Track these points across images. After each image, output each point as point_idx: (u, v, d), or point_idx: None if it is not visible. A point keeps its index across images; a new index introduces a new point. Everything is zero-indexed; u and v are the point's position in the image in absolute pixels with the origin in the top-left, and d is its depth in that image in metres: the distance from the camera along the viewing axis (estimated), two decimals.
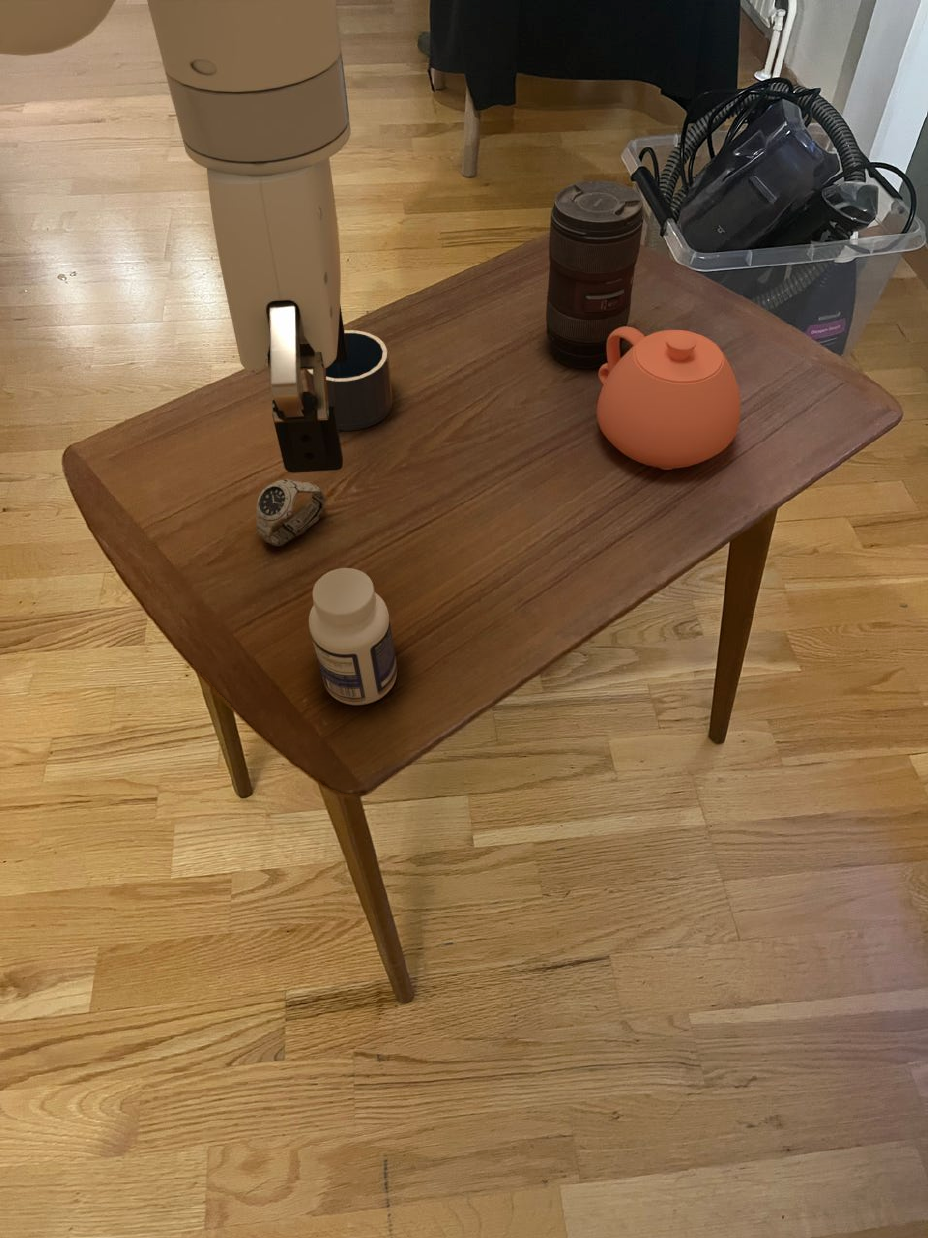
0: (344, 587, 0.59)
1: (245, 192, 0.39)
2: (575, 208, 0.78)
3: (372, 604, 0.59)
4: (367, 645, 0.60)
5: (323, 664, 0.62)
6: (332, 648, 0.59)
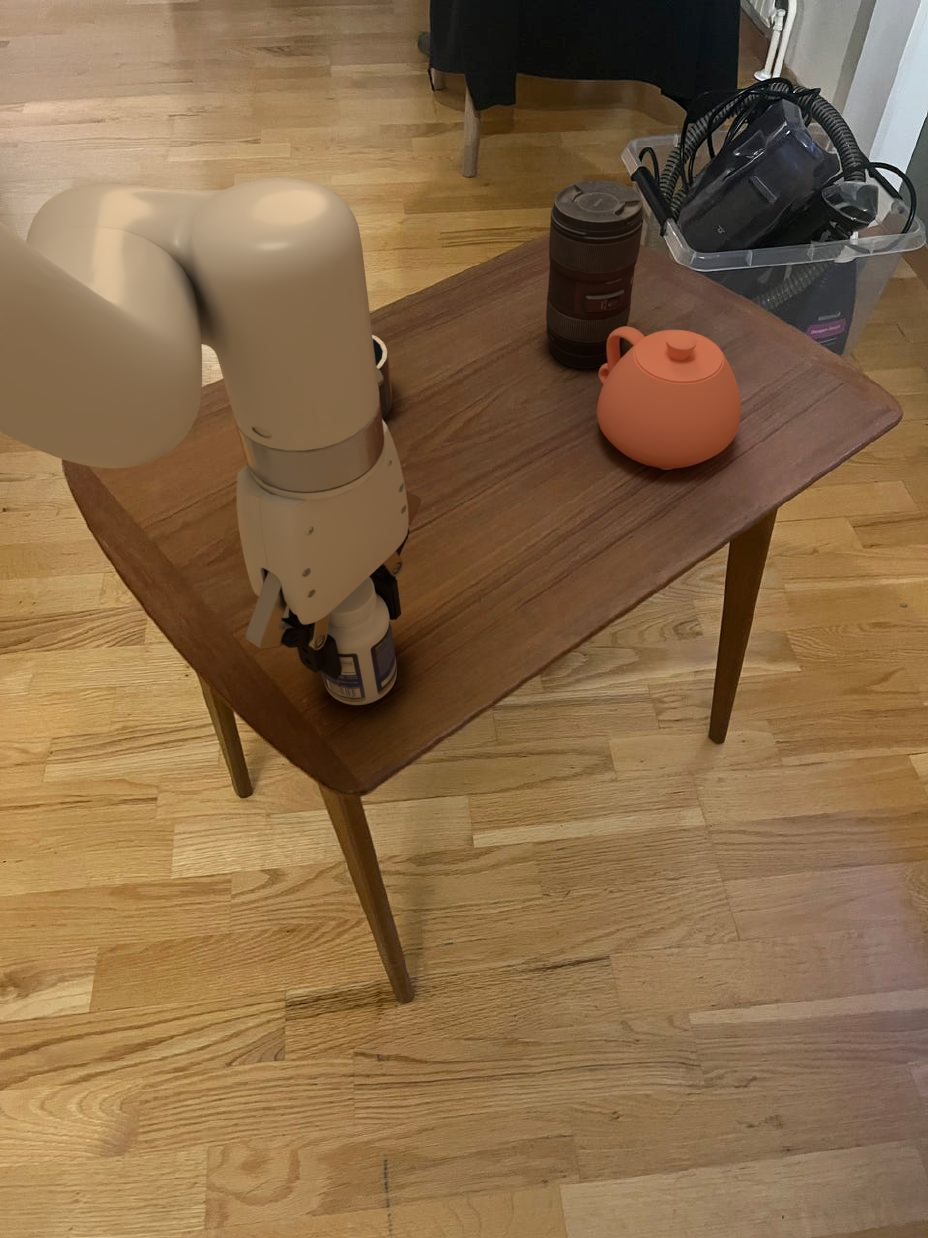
0: None
1: (249, 498, 0.48)
2: (575, 208, 0.78)
3: (372, 604, 0.59)
4: (368, 645, 0.60)
5: None
6: None
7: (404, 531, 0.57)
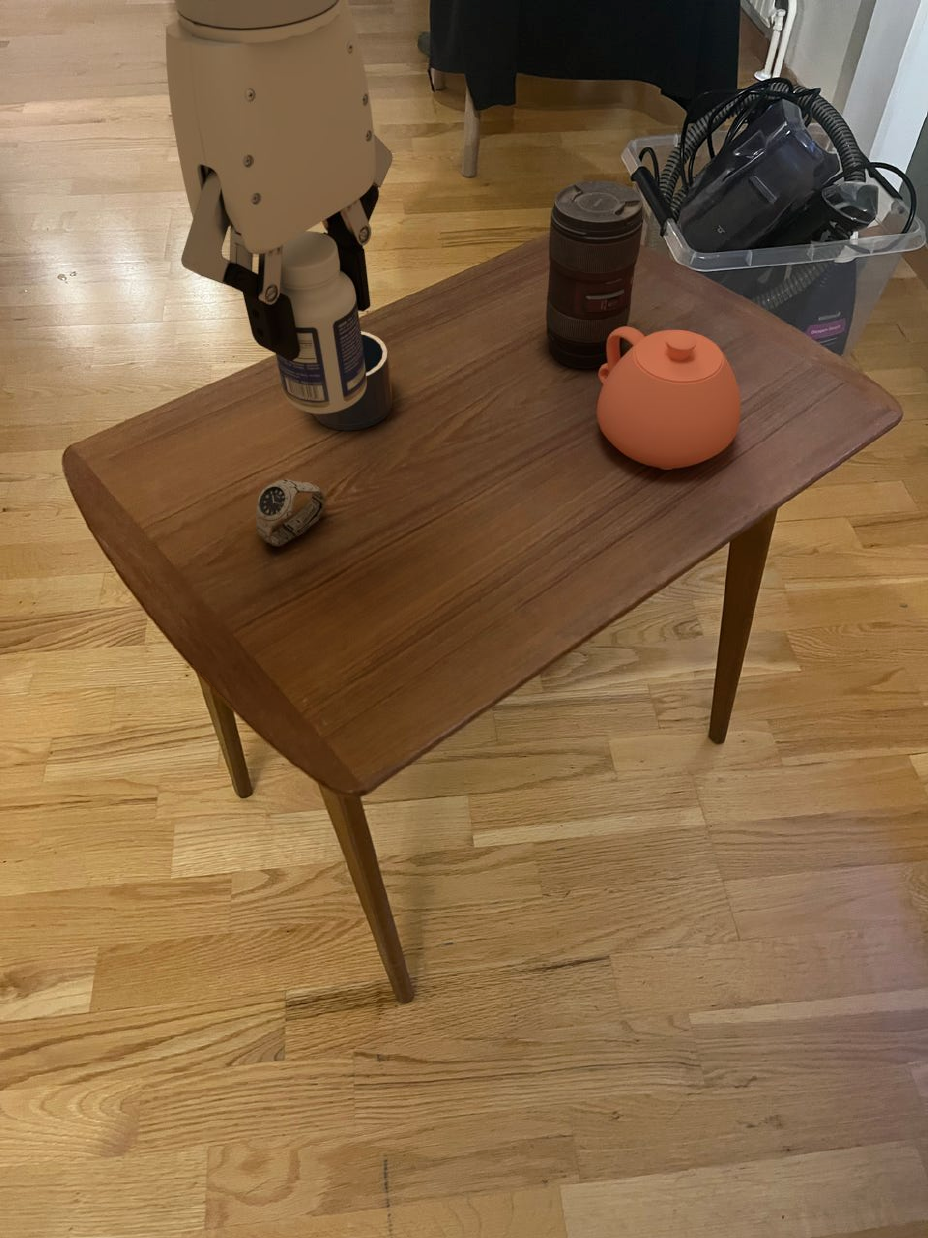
0: (303, 246, 0.52)
1: (179, 47, 0.41)
2: (575, 208, 0.78)
3: (335, 265, 0.51)
4: (329, 317, 0.52)
5: None
6: None
7: (370, 172, 0.50)
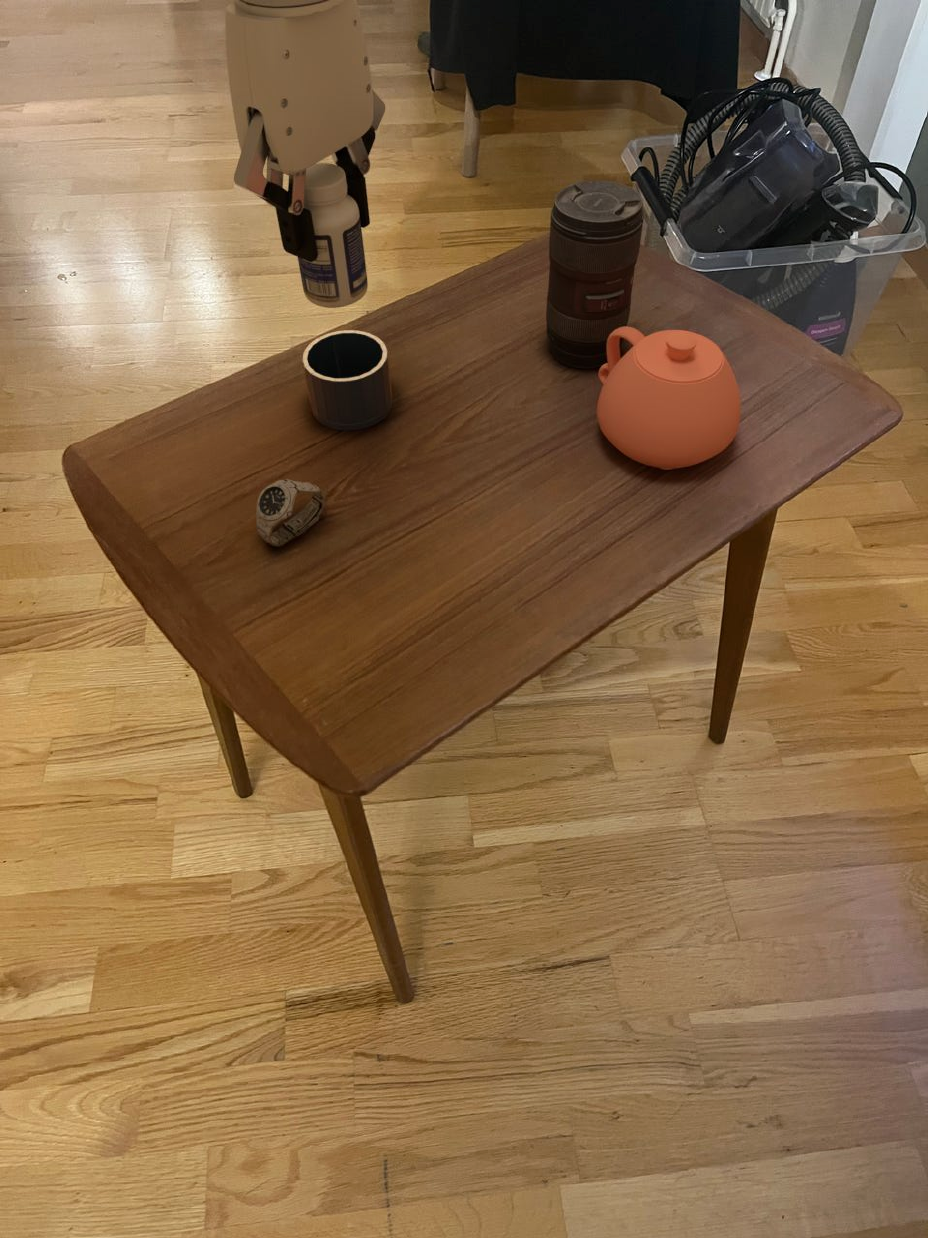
0: (319, 173, 0.69)
1: (236, 21, 0.58)
2: (575, 208, 0.78)
3: (344, 187, 0.69)
4: (340, 227, 0.69)
5: None
6: None
7: (369, 116, 0.67)
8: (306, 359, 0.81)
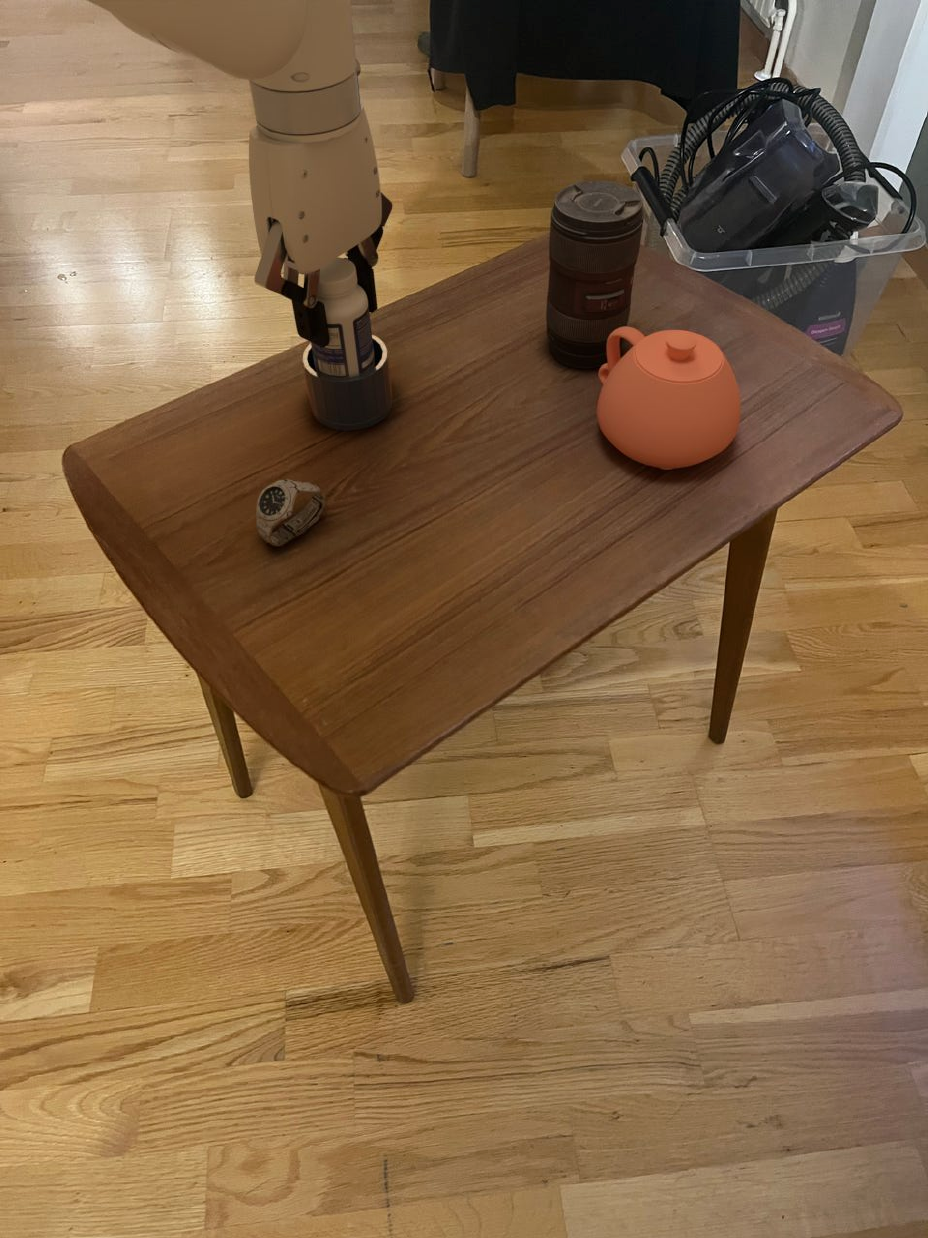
0: (332, 268, 0.75)
1: (259, 145, 0.64)
2: (575, 208, 0.78)
3: (354, 281, 0.75)
4: (350, 316, 0.75)
5: None
6: None
7: (378, 217, 0.73)
8: (306, 359, 0.81)
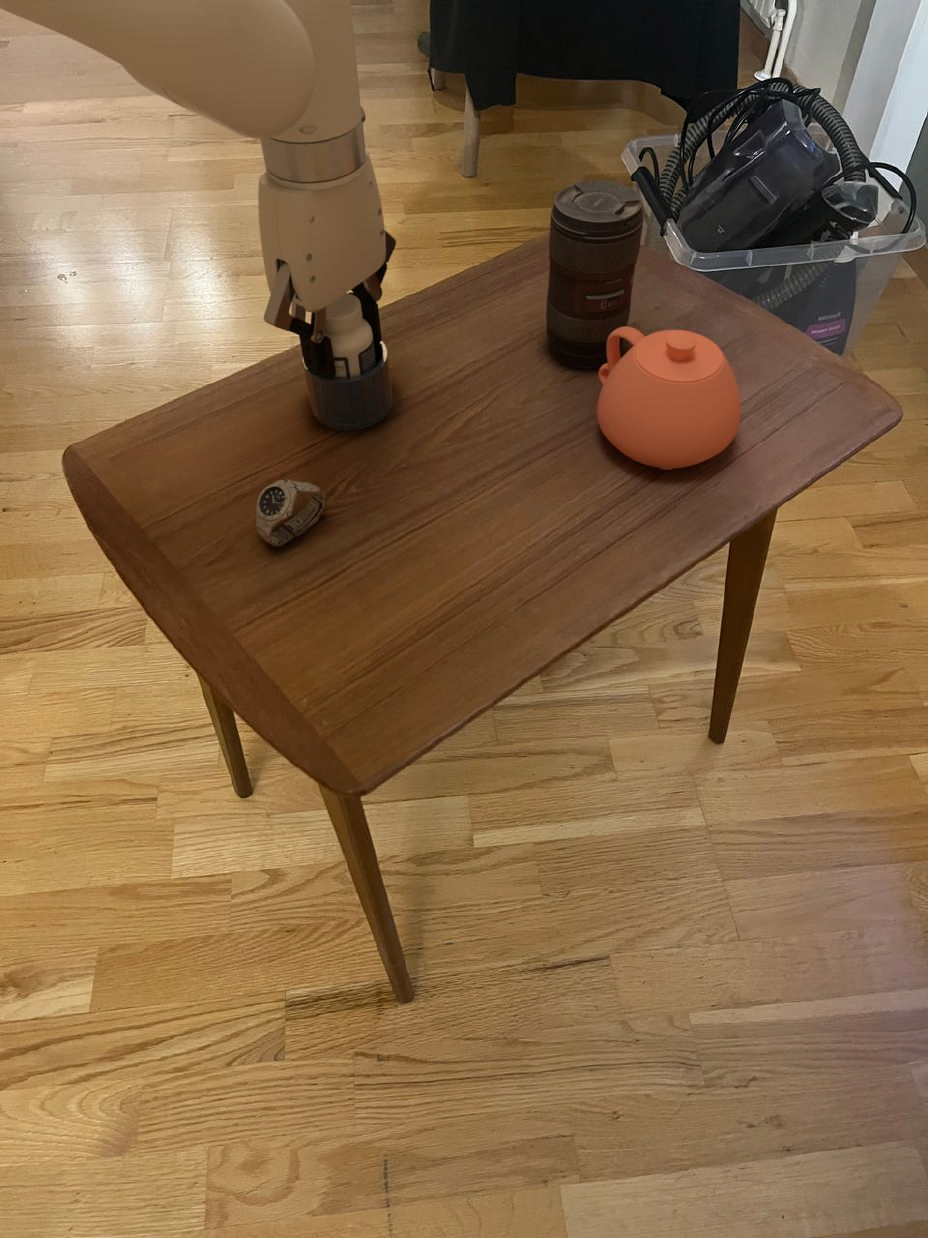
0: (338, 303, 0.77)
1: (268, 191, 0.66)
2: (575, 208, 0.78)
3: (359, 316, 0.77)
4: (356, 350, 0.78)
5: None
6: None
7: (382, 255, 0.76)
8: None
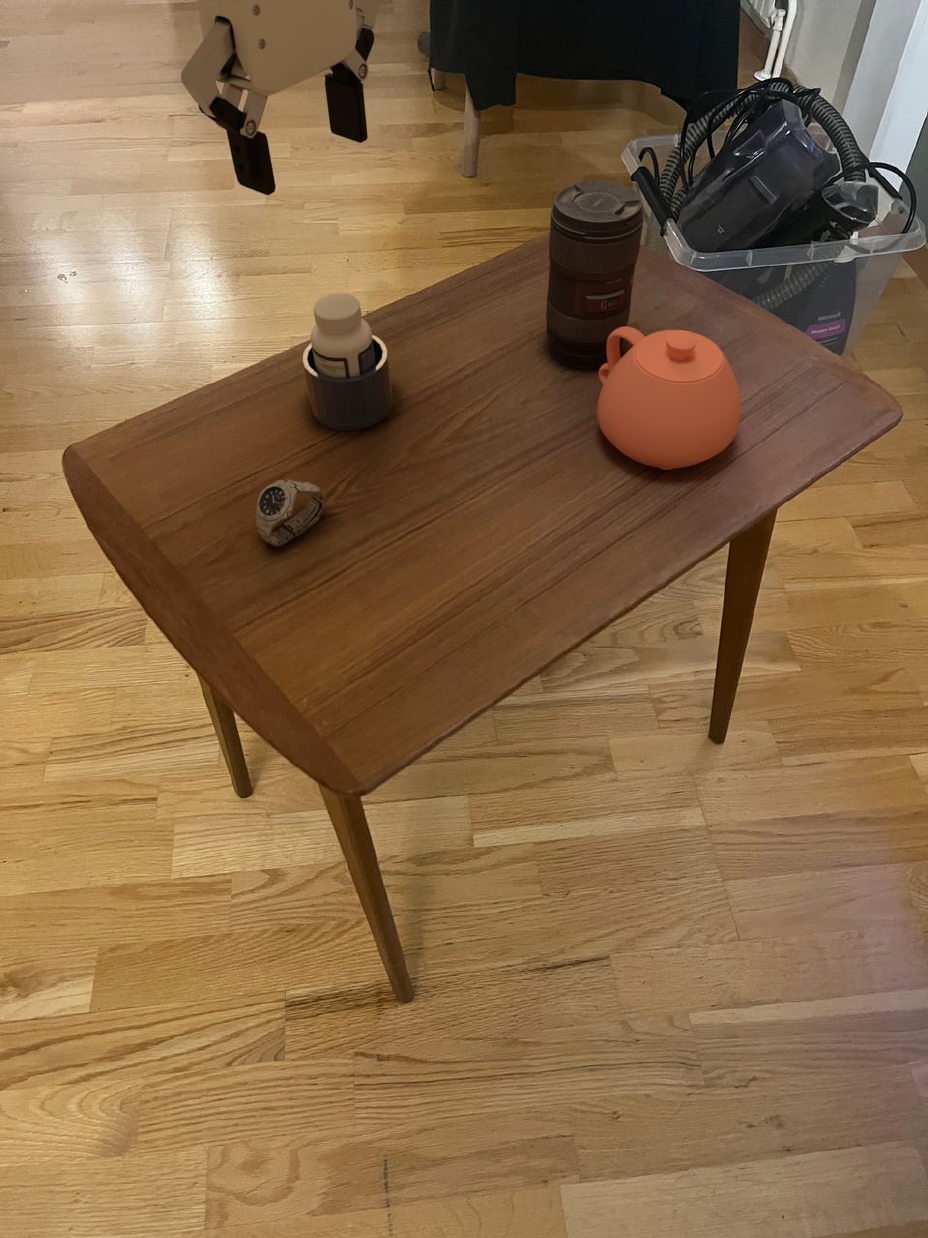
0: (337, 304, 0.77)
1: None
2: (575, 208, 0.78)
3: (359, 316, 0.77)
4: (355, 350, 0.78)
5: (321, 373, 0.80)
6: (328, 352, 0.78)
7: (352, 37, 0.61)
8: (306, 359, 0.81)
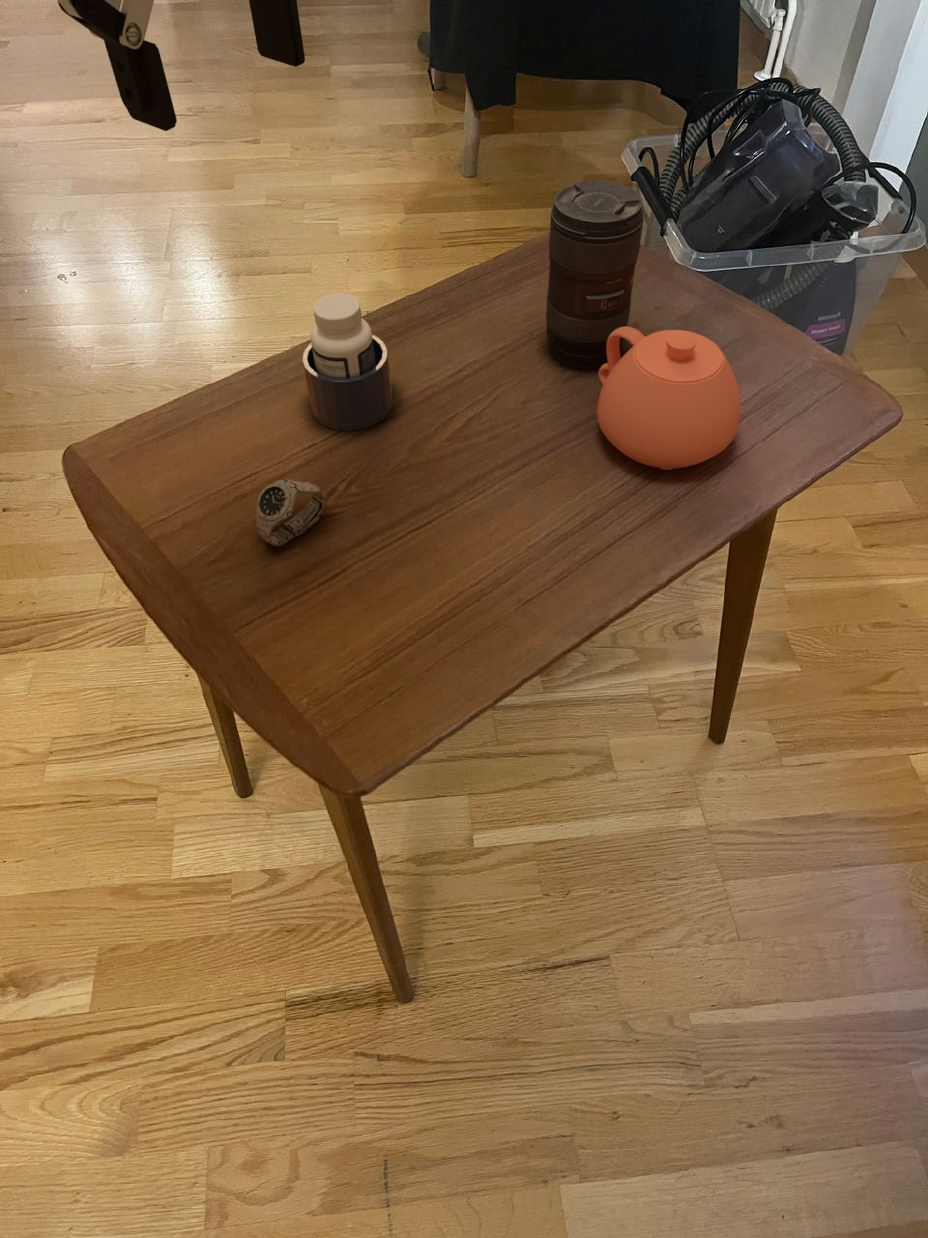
0: (337, 304, 0.77)
1: None
2: (575, 208, 0.78)
3: (359, 316, 0.77)
4: (355, 350, 0.78)
5: (321, 373, 0.80)
6: (328, 352, 0.78)
7: None
8: (306, 359, 0.81)
